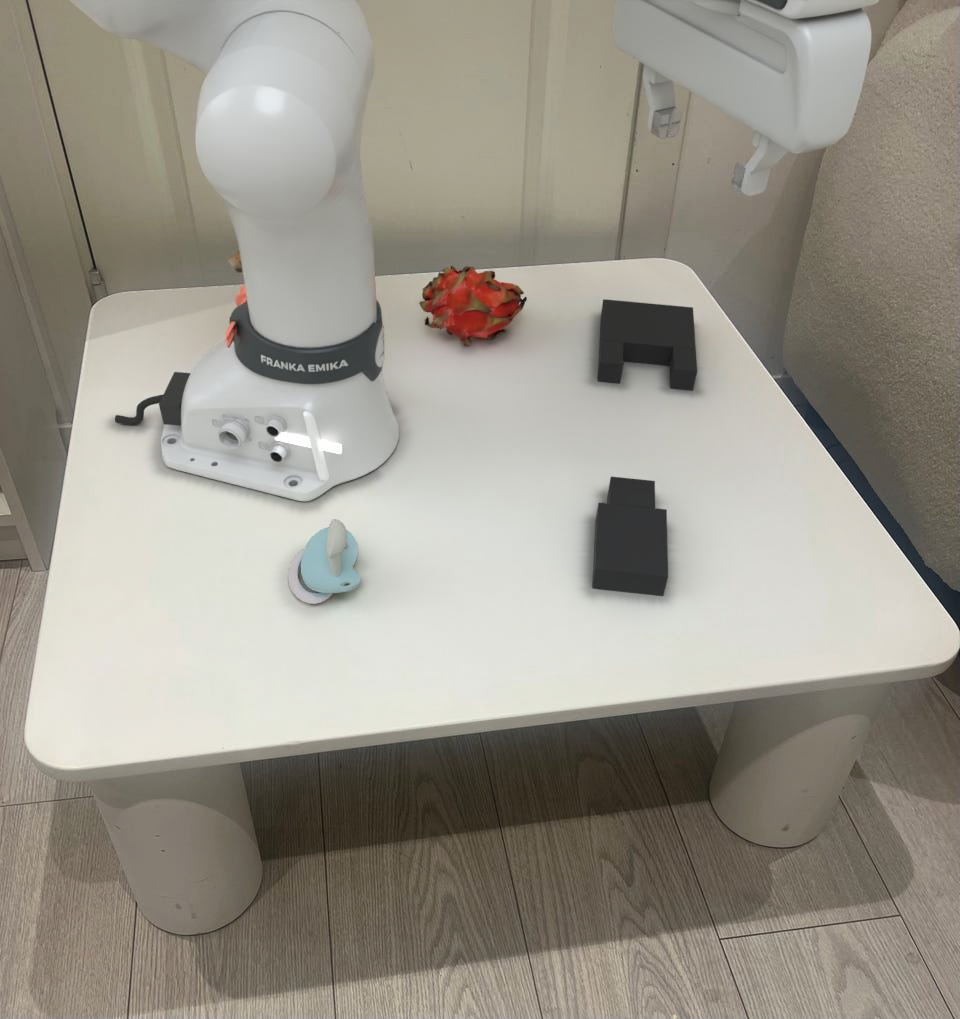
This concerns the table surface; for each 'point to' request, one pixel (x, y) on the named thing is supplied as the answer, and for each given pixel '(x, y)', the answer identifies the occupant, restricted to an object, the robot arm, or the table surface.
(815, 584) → the table surface
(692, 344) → the notch pad
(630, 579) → the pad
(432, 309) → the dragon fruit
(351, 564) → the pacifier
